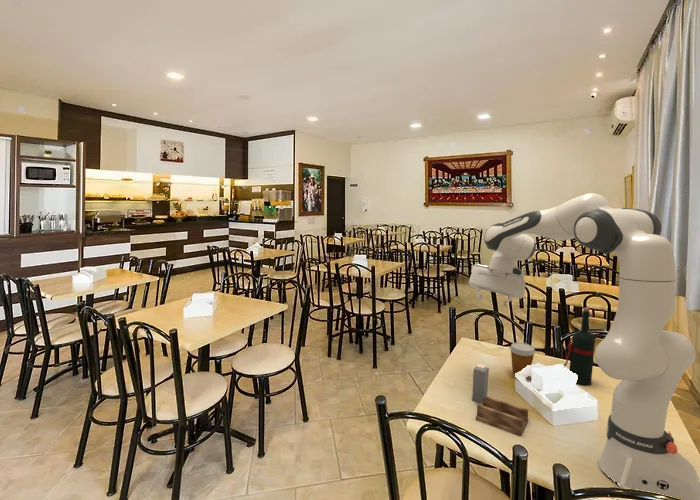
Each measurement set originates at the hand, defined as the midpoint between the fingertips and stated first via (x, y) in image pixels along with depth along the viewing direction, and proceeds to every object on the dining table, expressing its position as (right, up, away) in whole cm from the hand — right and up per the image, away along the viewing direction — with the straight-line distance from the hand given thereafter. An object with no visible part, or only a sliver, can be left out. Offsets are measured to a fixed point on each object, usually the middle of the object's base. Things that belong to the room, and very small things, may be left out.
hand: (491, 302), depth 141 cm
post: (-7, -34, -7) cm, 36 cm away
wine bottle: (+37, -32, +7) cm, 49 cm away
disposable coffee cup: (+17, -32, +13) cm, 38 cm away
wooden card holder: (-4, -36, -19) cm, 41 cm away
